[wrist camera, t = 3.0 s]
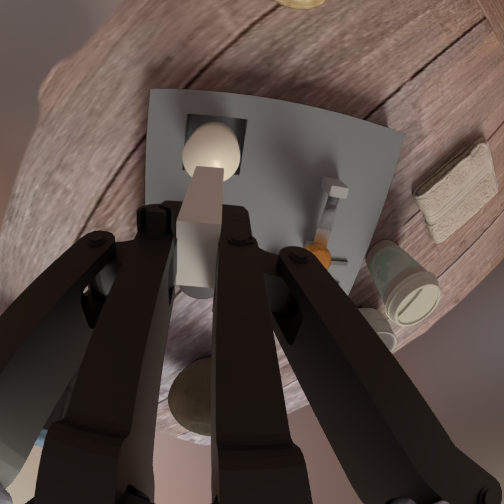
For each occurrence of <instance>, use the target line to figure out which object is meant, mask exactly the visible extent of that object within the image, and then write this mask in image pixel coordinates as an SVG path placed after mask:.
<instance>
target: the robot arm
mask: <svg viewBox="0 0 504 504" xmlns="http://www.w3.org/2000/svg"><path fill="white" fill-rule="evenodd" d="M223 177H224V168H216V167H205V166H196V168H195V171H194V173H193V176H192V179H191V181H190V184H189V187H188V189H187V192H186V195H185V198H184V200H183V201H170V200H165V201H164V202H162V203H161V204H149V205H145V206H142V207H140V208H139V209H138V210H137V231H138V232H137V234H136V236H135V238H134V239H133V240H130V241H123V242H115V236H114V235H113V234H112V233H110V232H107V231H93V232H91V233H88V234H86V235H85V236H83V237H82V238H80V239H79V240H78V241H77V242H76V243H75V244H73V245H72V246H71V247H70V248H69V249H68V250H67V251H65V252H64V253H63V254H62V255H61V256H60V257H59V258H58V259H57V260H55V261H54V262H53V263H52V264H51V265H50V266H49V267H48V268H47V269H46V270H45V271H44V272H43V273H42V274H40V275H39V276H38V277H37V278H36V279H35V280H34V281H33V282H32V283H31V284H30V285H29V286H28V287H27V288H26V289H25V290H24V291H23V292H22V293H21V294H20V295H19V297H18V298H17V299H16V300H15V301H14V302H13V303H12V304H11V305H10V306H9V307H8V308H7V309H6V310H5V312H4V313H3V314H2V315H1V316H0V504H12V498H11V496H10V494H9V493H8V492H7V491H6V490H5V489H6V487H8V486H9V485H10V484H11V482H12V481H13V480H14V479H15V477H16V476H17V474H18V473H19V472H20V470H21V469H22V467H23V465H24V463H25V461H26V460H27V457H28V456H29V454H30V452H31V450H32V448H33V446H34V445H37V446H40V447H42V448H43V450H42V454H41V459H40V464H39V470H38V476H37V482H36V489H35V496H34V497H33V498H32V499H31V500H30V501H28V502H27V503H25V504H154V474H153V449H154V437H155V427H156V417H157V407H158V399H159V391H160V383H161V375H162V368H163V361H164V354H165V348H166V341H167V335H168V329H169V323H170V318H171V312H172V306H173V301H174V296H175V279H176V285H184V286H196V287H208V288H214V298H213V310H212V312H213V327H212V364H211V465H212V477H211V481H212V482H211V490H212V504H313V503H312V497H311V491H310V485H309V480H308V473H307V468H306V463H305V460H304V456H303V454H302V452H301V449H300V448H299V447H298V446H297V445H295V444H294V443H293V441H292V439H291V436H290V431H289V425H288V419H287V412H286V406H285V400H284V394H283V388H282V382H281V376H280V370H279V364H278V358H277V352H276V346H275V340H274V334H273V331H274V333H275V335H276V337H277V339H278V341H279V343H280V345H281V347H282V349H283V351H284V353H285V355H286V357H287V359H288V361H289V363H290V365H291V367H292V369H293V371H294V373H295V375H296V377H297V379H298V381H299V383H300V385H301V387H302V389H303V391H304V393H305V395H306V397H307V399H308V401H309V403H310V405H311V407H312V409H313V411H314V413H315V415H316V417H317V419H318V421H319V423H320V425H321V427H322V429H323V431H324V433H325V435H326V437H327V439H328V441H329V442H330V445H331V447H332V448H333V450H334V452H335V454H336V456H337V458H338V460H339V462H340V464H341V466H342V468H343V470H344V471H345V474H346V475H347V477H348V479H349V481H350V483H351V485H352V487H353V488H354V490H355V492H356V493H357V495H358V497H359V498H360V500H361V501H362V502H363V503H364V504H501V501H502V490H501V487H500V483H499V482H498V481H497V480H496V478H494V477H493V476H492V475H490V474H489V473H488V472H486V471H485V470H484V469H483V468H481V467H480V466H479V465H478V464H477V463H475V462H474V461H473V460H471V459H470V458H469V457H468V456H466V455H465V454H464V453H463V452H462V451H460V450H459V449H458V448H457V447H455V445H454V444H453V442H452V441H451V439H450V438H449V436H448V434H447V433H446V431H445V430H444V428H443V427H442V425H441V424H440V422H439V421H438V419H437V418H436V416H435V415H434V413H433V412H432V410H431V409H430V407H429V406H428V404H427V403H426V401H425V400H424V398H423V397H422V395H421V394H420V392H419V391H418V390H417V388H416V387H415V385H414V384H413V382H412V381H411V380H410V378H409V377H408V375H407V374H406V373H405V371H404V370H403V369H402V367H401V366H400V365H399V363H398V361H397V360H396V359H395V357H394V356H393V355H392V353H391V352H390V351H389V349H388V348H387V346H386V345H385V344H384V342H383V341H382V340H381V338H380V337H379V336H378V334H377V333H376V332H375V330H374V329H373V328H372V326H371V325H370V324H369V323H368V321H367V320H366V319H365V317H364V316H363V315H362V313H361V312H360V311H359V310H358V308H357V307H356V306H355V304H354V303H353V302H352V301H351V299H350V298H349V297H348V295H347V294H346V293H345V292H344V290H343V289H342V288H341V287H340V285H339V284H338V283H337V282H336V280H335V279H334V278H333V277H332V275H331V274H330V273H329V272H328V270H327V269H326V268H325V267H324V266H323V264H322V263H321V262H320V261H319V259H318V258H317V257H316V256H315V255H314V254H313V253H312V252H311V251H309V250H307V249H305V248H302V247H299V246H288V247H284V248H282V249H281V250H280V253H279V255H277V254H274V253H270V252H267V251H265V250H263V249H261V248H259V246H258V242H257V240H256V238H255V237H253V236H252V230H251V224H250V218H249V211H248V210H247V209H246V208H245V207H244V206H237V205H227V204H222V199H223ZM87 285H88V290H87V292H86V293H83V291H84V289H85V288H86V287H87Z"/></svg>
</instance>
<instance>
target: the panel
mask: <svg viewBox="0 0 504 504" xmlns="http://www.w3.org/2000/svg"><path fill="white" fill-rule="evenodd" d="M208 122H221V123H224V124H226V125H228V126H229V127H230V128H231V129H232V130H233V131H234V132H235V134H236V137H237V141H238V145H239V150H240V162H239V166H238V168H237V170H236V171H235V173H234V174H233V175H232V176H231V177H230V178H229V179H227V180H226V181H223V199H222V204H227V205H237V206H244V207H245V208H246V209H247V210H248V211H249V218H250V224H251V230H252V236H253V237H255V238H256V240H257V242H258V246H259V248H261V249H263V250H265V251H267V252H270V253H274V254H277V255H279V253H280V250H281V249H282V248H284V247H288V246H299V247H302V248H304V247H305V246H306V245H308V244H310V243H313V242H314V238H315V235H316V231H317V228H318V225H319V222H320V219H321V216H322V214H323V211H324V208H325V205H326V202H327V199H328V196H331V197H337V198H339V201H338V204H337V209H336V213H335V218H334V222H333V226H332V231H331V234H330V237H329V240H328V244H327V248H328V249H329V251H330V253H331V257H332V261H331V265H330V267H329V269H328V272H329V273H330V274H331V275H332V277H333V278H334V279H335V280H336V282H337V283H338V284H339V285H340V287H341V288H342V289H343V290H344V292H345V293H346V294H347V295H349V293H350V291H351V288H352V286H353V284H354V281H355V279H356V277H357V274H358V272H359V270H360V267H361V265H362V262H363V260H364V257H365V255H366V252H367V250H368V247H369V245H370V242H371V239H372V237H373V234H374V231H375V229H376V226H377V223H378V220H379V217H380V215H381V212H382V209H383V206H384V203H385V200H386V197H387V194H388V191H389V188H390V185H391V181H392V178H393V175H394V171H395V168H396V165H397V161H398V158H399V154H400V150H401V147H402V143H403V139H404V135H405V134H404V133H401V132H398V131H396V130H393V129H390V128H388V127H385V126H382V125H379V124H375V123H372V122H369V121H366V120H363V119H359V118H356V117H352V116H349V115H345V114H341V113H338V112H334V111H330V110H326V109H322V108H317V107H313V106H309V105H304V104H299V103H294V102H289V101H284V100H278V99H272V98H266V97H260V96H253V95H245V94H237V93H228V92H218V91H206V90H191V89H161V88H159V89H150V99H149V110H148V124H147V141H146V169H145V205H149V204H161V203H162V202H164V201H165V200H170V201H183V200H184V198H185V195H186V192H187V189H188V187H189V184H190V181H191V179H192V177H191V176H190V175H189V174H188V173H187V171H186V170H185V167H184V165H183V160H182V154H183V149H184V147H185V144H186V143H187V141H188V140H189V138H190V137H191V136H192V134H193V133H194V132H195V130H196V129H197V128H198V127H200V126H201V125H203V124H205V123H208ZM175 286H179V285H176V279H175ZM179 287H180V286H179Z"/></svg>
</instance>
